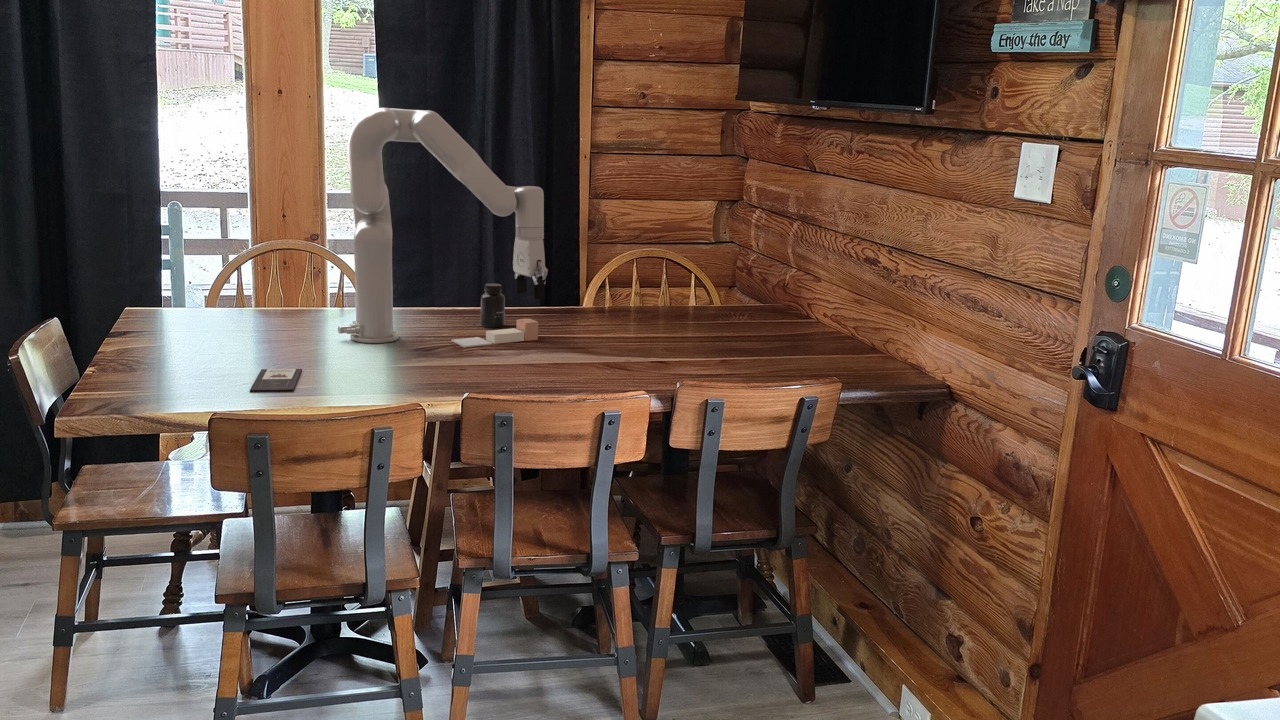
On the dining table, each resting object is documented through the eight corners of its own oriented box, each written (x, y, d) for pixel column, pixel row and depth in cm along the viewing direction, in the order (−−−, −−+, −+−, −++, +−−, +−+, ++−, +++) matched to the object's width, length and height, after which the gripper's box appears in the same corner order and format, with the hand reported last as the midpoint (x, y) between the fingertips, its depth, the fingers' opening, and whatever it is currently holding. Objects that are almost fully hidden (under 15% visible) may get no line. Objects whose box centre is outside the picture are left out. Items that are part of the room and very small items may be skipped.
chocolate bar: (249, 390, 227) (261, 369, 244) (249, 394, 227) (261, 373, 244) (293, 389, 228) (302, 368, 245) (293, 393, 229) (302, 372, 246)
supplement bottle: (502, 328, 299) (503, 287, 296) (478, 327, 299) (478, 286, 296) (506, 323, 306) (506, 283, 303) (482, 322, 306) (483, 282, 303)
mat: (464, 347, 275) (464, 346, 275) (451, 341, 281) (451, 339, 281) (491, 344, 280) (492, 343, 280) (478, 338, 286) (478, 337, 286)
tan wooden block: (525, 341, 286) (525, 322, 285) (516, 337, 290) (516, 319, 289) (537, 339, 288) (538, 321, 287) (529, 336, 292) (529, 318, 291)
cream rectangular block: (494, 343, 281) (494, 334, 280) (485, 340, 284) (486, 330, 284) (524, 340, 286) (524, 331, 285) (515, 337, 290) (515, 327, 289)
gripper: (502, 230, 287) (502, 291, 291) (533, 237, 273) (533, 302, 277) (526, 228, 291) (526, 289, 295) (558, 236, 277) (558, 299, 281)
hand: (529, 295), depth 286 cm, fingers open, 9 cm apart
